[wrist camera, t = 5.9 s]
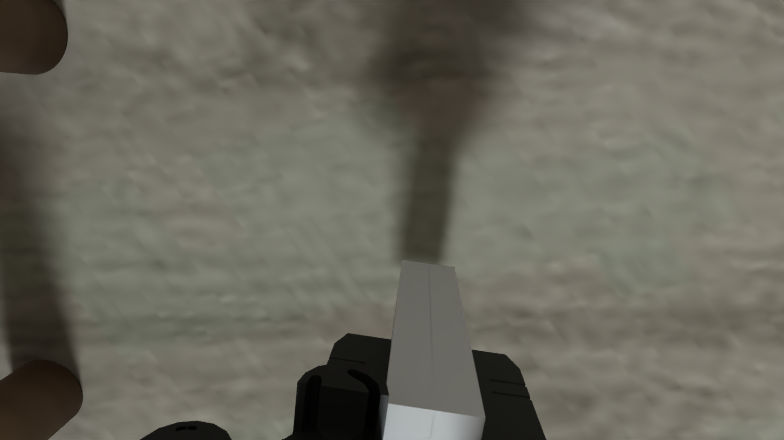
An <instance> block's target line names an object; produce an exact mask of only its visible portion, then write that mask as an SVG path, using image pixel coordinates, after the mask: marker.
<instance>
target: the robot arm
mask: <svg viewBox="0 0 784 440" xmlns="http://www.w3.org/2000/svg"><path fill="white" fill-rule="evenodd" d="M140 440H232V439H231V438H230V436H229V434H228V433H227V431H225V430H223V429H222V428H220V427H218V426H217V425H215V424H212V423H206V422H201V421H188V422H177V423H174V424H171V425H168V426H165V427H162V428H158V429H157V430H155V431H153V432H152V433H150V434H148V435H147V436H145V437H144V438H142V439H140ZM282 440H546V438H545V435H544V433H543V430H542V427H541V425H540V422H539V419H538V417H537V414H536V411H535V409H534V406H533V403H532V401H531V400H530V395H529V393H528V390H527V387H525V382H524V379H523V377H522V374H521V371H520V369H519V368H518V367H517V366H516V365H515V364H514V363H513V362H512V361H511V360H510V359H509V358H508V357H507V356H506V355H505V354H498V353H491V352H484V351H478V350H471V345H470V340H469V335H468V330H467V325H466V321H465V316H464V311H463V306H462V301H461V296H460V291H459V287H458V282H457V277H456V272H455V267H449V266H442V265H435V264H428V263H421V262H414V261H407V260H402V265H401V273H400V280H399V287H398V294H397V301H396V308H395V315H394V323H393V330H392V337H391V339H384V338H377V337H370V336H363V335H357V334H350V333H348V334H346V335H345V336H344V337H342V338H341V339H340V340H338V341H337V342H336V343H334V346H333V349H332V352H331V354H330V357H329V360H328V362H327V365H322V366H318V367H316V368H314V369H312V370H310V371H308V372H306V373H305V374H304V375H303V376H302V377H301V379H300V380H299V381H298V382H297V394H296V405H295V416H294V428H293V433H292V435H290V436H288V437H287V438H285V439H282Z"/></svg>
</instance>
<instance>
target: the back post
mask: <svg viewBox="0 0 784 440" xmlns="http://www.w3.org/2000/svg"><path fill="white" fill-rule="evenodd" d="M81 405H82V392H81V388H80V386H79V384H78V382H77V380H76V379H75V377H74V376H73V375H72V374H71V373H70V372H69V371H68V370H66V369H65V368H64V367H62V366H60V365H58V364H56V363H53V362H50V361H44V360H37V361H32V362H29V363H27V364H25V365H23V366H22V367H20V368H19V369H17V370H16V371H14V372H13V373H11V374H9V375H8V376H6V377H5V378H3V379H2V380H0V440H48V439H49V438H50V437H51V436H53V435H54V434H55V433H56V432H57V431H58V430H59V429H60V428H62V427H63V426H64V425H65V424H66V423H67V422H68V421H69V420H71V419H72V418H73V417H74V416H75V415H76V414H77V413H78V411H79V410H80V408H81Z"/></svg>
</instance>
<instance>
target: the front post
mask: <svg viewBox="0 0 784 440" xmlns="http://www.w3.org/2000/svg"><path fill="white" fill-rule="evenodd" d="M66 44H67V30H66V25H65V21H64V18H63V16H62V14H61V12H60V10H59V8H58V6H57V5H56V4H55V2H54V1H53V0H0V72H7V73H19V74H33V75H34V74H41V73H45V72H47V71H49V70H51V69H52V68H54V67H55V66H56V65H57V64H58V63H59V62H60V60H61V58H62V57H63V54H64V52H65V49H66Z"/></svg>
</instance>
